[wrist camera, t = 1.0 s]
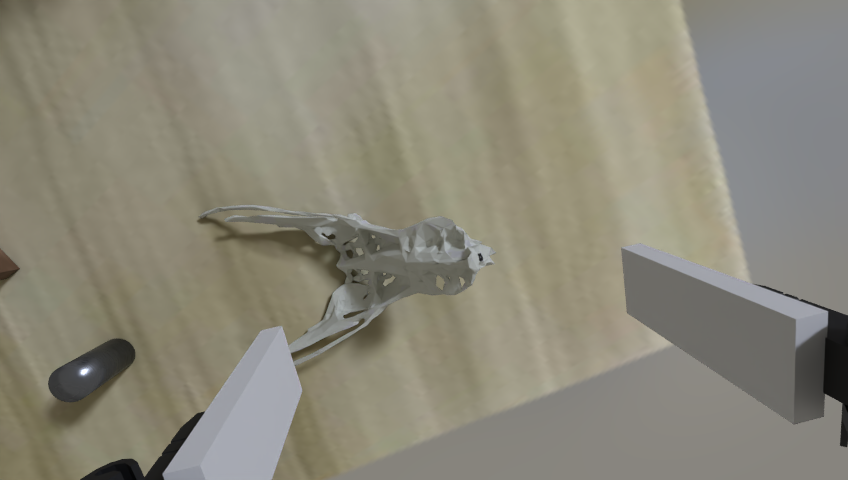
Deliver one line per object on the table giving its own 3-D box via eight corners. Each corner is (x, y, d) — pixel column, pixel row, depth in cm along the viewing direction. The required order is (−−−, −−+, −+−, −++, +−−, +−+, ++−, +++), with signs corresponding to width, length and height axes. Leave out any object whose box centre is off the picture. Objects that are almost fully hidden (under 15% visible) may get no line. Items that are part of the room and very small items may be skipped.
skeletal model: (192, 214, 37) (397, 141, 22) (278, 199, 44) (474, 137, 29) (242, 374, 39) (462, 407, 24) (316, 334, 46) (518, 339, 31)
